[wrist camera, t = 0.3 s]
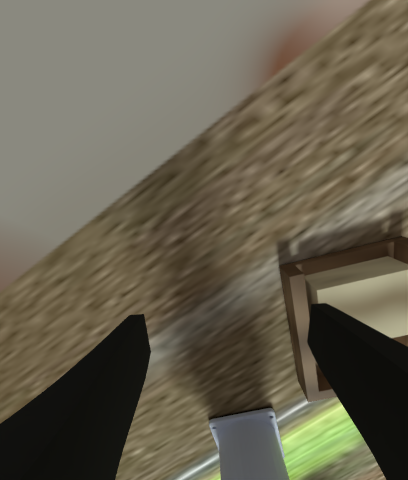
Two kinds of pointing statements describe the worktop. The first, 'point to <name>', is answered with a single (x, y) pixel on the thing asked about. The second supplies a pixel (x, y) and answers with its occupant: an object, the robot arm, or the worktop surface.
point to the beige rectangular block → (366, 293)
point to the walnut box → (298, 311)
